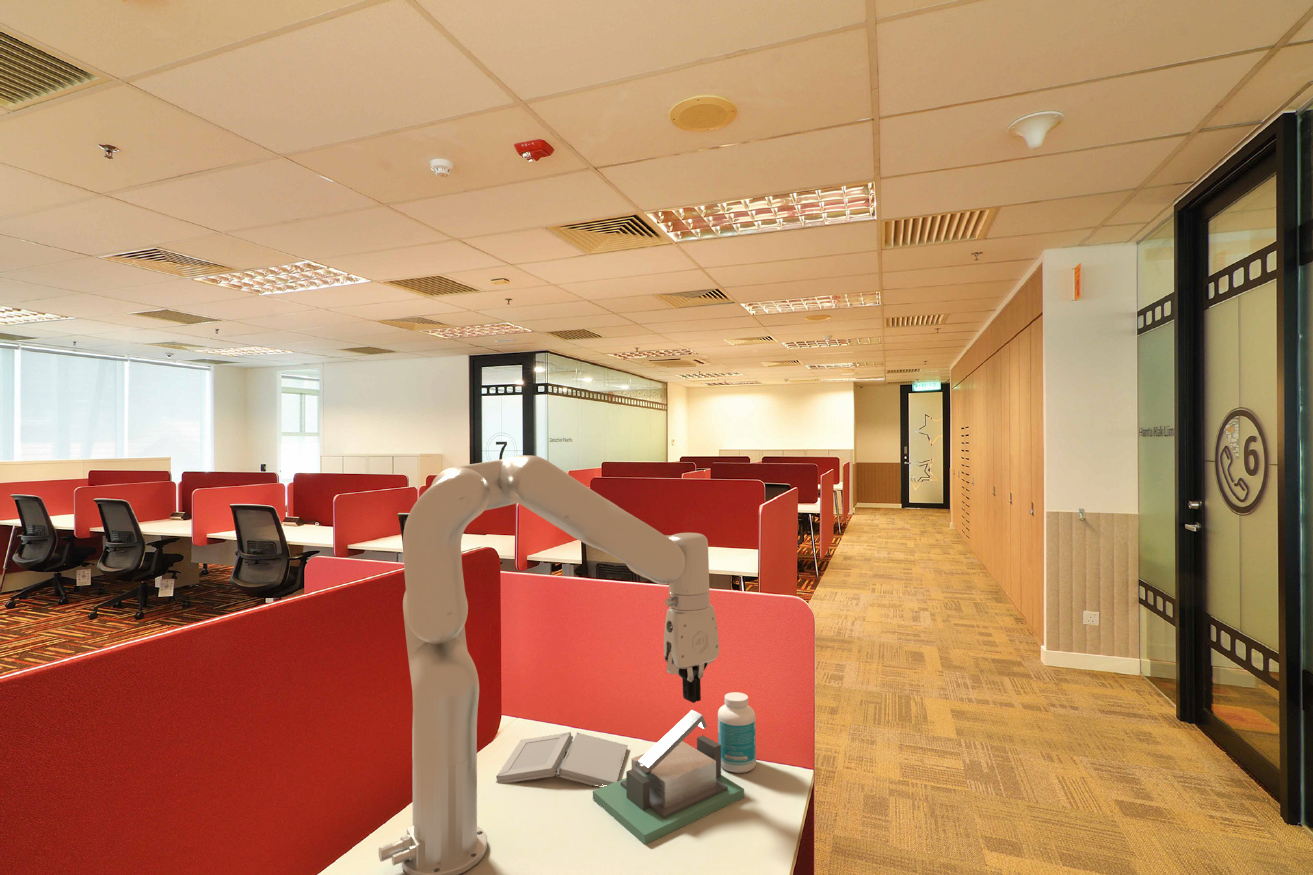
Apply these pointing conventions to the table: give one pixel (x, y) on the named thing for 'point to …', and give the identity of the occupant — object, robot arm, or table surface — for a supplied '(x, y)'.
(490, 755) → the table surface
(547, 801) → the table surface
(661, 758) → the strap
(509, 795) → the table surface
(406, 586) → the robot arm
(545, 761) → the gadget
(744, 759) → the pill bottle
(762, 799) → the table surface
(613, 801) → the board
